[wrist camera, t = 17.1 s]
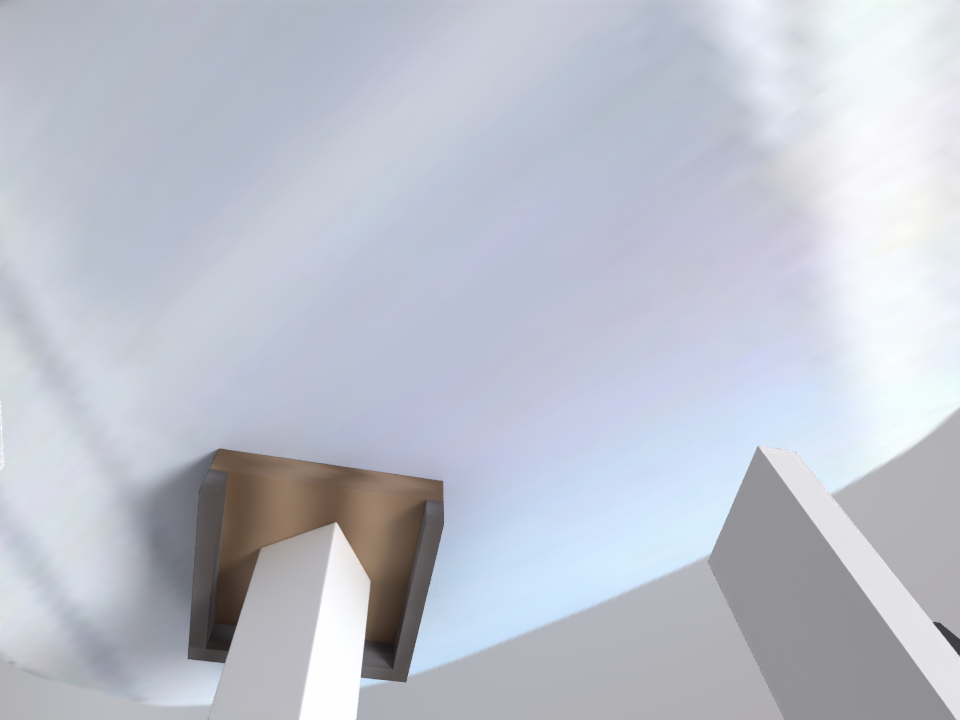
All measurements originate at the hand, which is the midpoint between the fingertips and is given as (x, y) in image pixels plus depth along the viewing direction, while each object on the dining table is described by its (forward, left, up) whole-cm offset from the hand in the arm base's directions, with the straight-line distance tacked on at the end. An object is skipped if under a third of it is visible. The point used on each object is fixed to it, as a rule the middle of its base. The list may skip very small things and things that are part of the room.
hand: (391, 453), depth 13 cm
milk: (-2, -31, -32) cm, 45 cm away
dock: (-2, -32, -35) cm, 47 cm away
